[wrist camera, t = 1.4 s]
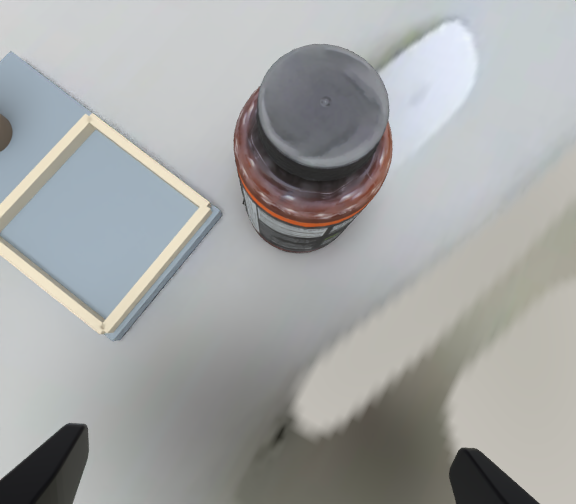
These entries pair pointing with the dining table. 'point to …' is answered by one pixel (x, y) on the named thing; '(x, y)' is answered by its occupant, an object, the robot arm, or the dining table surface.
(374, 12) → the dining table surface
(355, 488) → the dining table surface
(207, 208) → the board
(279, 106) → the supplement bottle
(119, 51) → the dining table surface
